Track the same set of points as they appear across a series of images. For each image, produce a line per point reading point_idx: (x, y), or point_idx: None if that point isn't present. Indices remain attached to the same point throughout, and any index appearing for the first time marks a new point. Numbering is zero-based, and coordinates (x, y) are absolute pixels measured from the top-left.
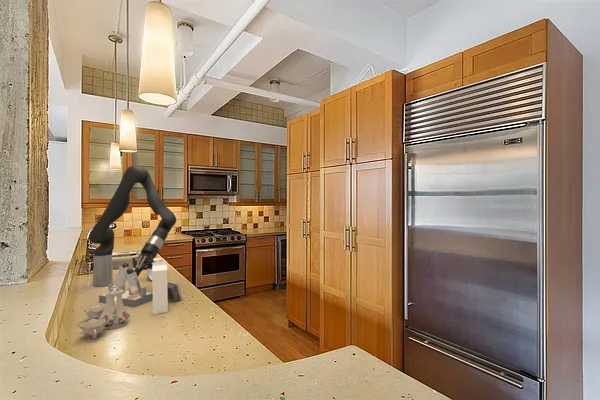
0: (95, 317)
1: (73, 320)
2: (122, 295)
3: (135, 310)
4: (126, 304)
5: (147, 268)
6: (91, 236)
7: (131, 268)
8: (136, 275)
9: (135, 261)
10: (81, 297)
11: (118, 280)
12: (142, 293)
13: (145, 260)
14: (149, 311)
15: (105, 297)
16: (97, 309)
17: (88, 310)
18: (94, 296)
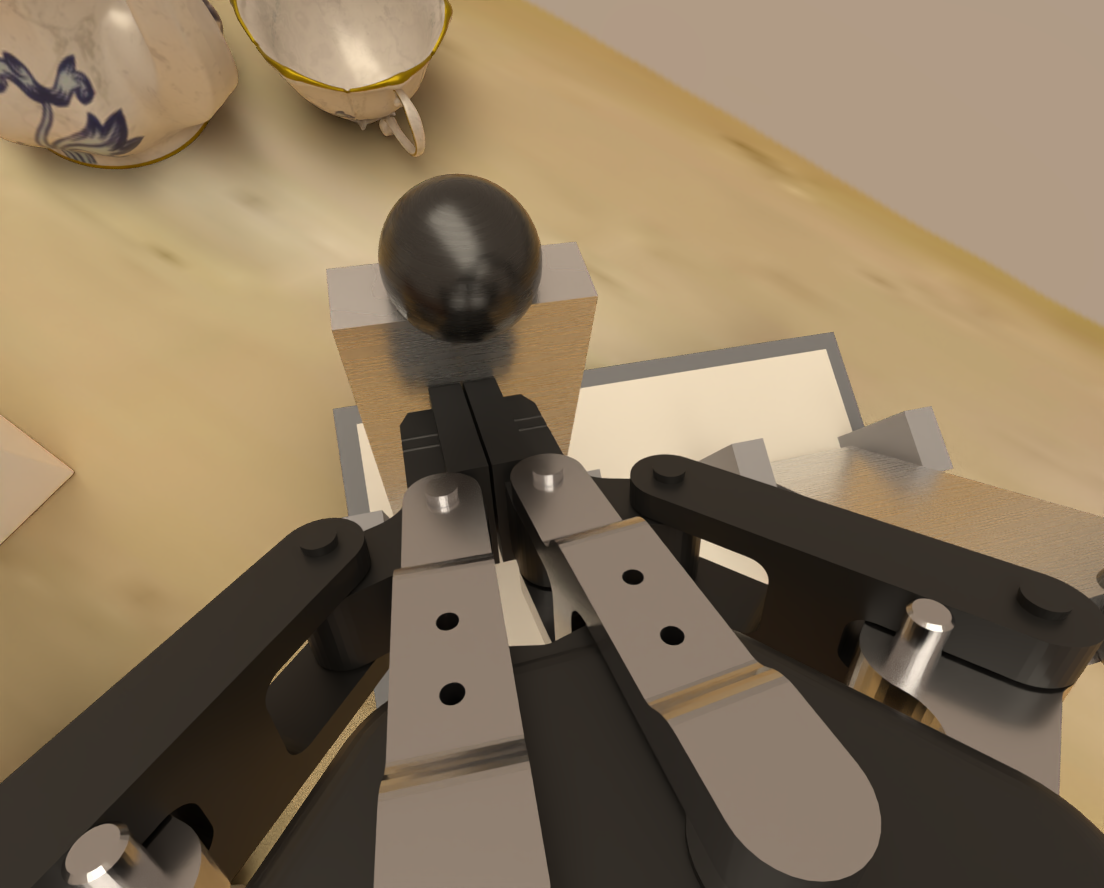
0: (299, 19)
1: (525, 39)
2: (631, 445)
3: (253, 372)
4: None
5: (282, 682)
6: None
7: (423, 235)
8: (350, 382)
9: (842, 587)
10: (1051, 361)
11: (904, 486)
12: None
13: (382, 764)
14: (74, 419)
15: (748, 347)
16: (414, 79)
17: (424, 6)
18: (999, 431)
